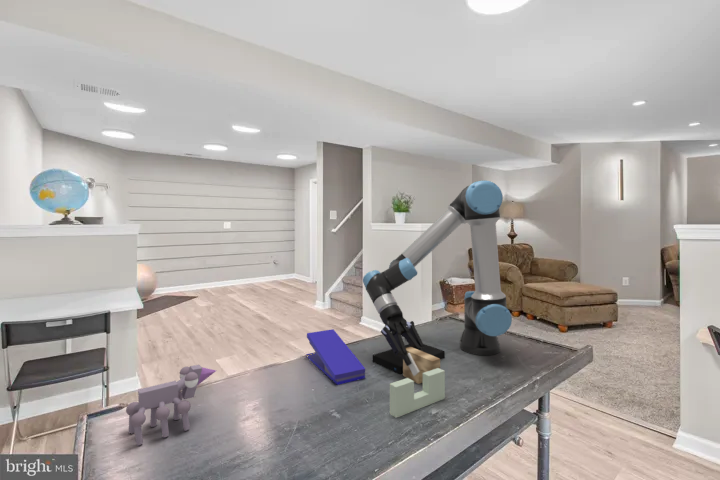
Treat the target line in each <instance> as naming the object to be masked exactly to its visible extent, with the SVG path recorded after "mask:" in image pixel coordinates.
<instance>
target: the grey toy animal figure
mask: <svg viewBox="0 0 720 480" xmlns="http://www.w3.org/2000/svg"><path fill="white" fill-rule="evenodd" d="M216 372H217V370H216V369H211V368H207V367H202V366H201V364H195V365H190V366H184V367H181V369H180V370H179V379H178V380H177V381H176V380H172V381H168V382H164V383H160V384H155V385H152V386H148V387H143V388H139V389H138V390H137V395H138V396H137V397H138V402H137V401H132V402H130V403H129V404H128V405H127V406H126V409H125V412H126V414H127V416H128V434H129V433H131V434H134V438H135V445H136V446H140V445H142V444H143V443H144V437H143V430H142V426H143V425H144V423H145V422H146V418H147V416H146V414H145V412H146V410H149V409H150V420H149V421H150V425H149V426H150V428H151V427H152V428H153V427H154V428H155V427H156V426H157V421H160V427H161V433H162V434H161V435H162V438H167V437H169V435H170V432H169V431H170V430H169V423H168V417H169V416H170V412H171V411H170V408H169V407H168V406H166V405H168V404H173V420H175V421H177V420H180V419H181V417H180V416H182V426H183V431H184V432H185V431H189V430H190V429H191V425H190V424H191V423H190V417H189V411H190V409H191V407H192V406H191V403H190V401H189V400H187V399H192V398H194V397H195V394H196V391H197V387H198V386H199V385H200V384H202V383H203V382H204V381H206V380H207V379H208V378H210V376H212V375H213V374H215V373H216ZM180 414H181V415H180ZM134 432H135V433H134ZM131 434H130V435H131Z"/></svg>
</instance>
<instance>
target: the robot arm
mask: <svg viewBox="0 0 720 480" xmlns="http://www.w3.org/2000/svg"><path fill="white" fill-rule="evenodd" d="M503 198H504V197H503V192H502V189H501V188H500V186H499V185H497V184H496V183H495V182H493V181H491V180H479V181H478V180H477V181H474V182H473V183H471V184H469V185H467V186H466V187H465V188H463V189H462V190H461V191H460V192H459V194H458V195H457V196H456V197H455V199H454V200H452V202H451V203H450V204H449V205H448V206H447V210H446V211H445V212H444V213H443V214H442V215H441V216H440V217H439V218H438V219H436V221H434V222H433V223H432V224H431V225H430V226H429V227H428V228H427V229H426V230H425V231H424V232H423V233H421V235H420V236H419V237H417V238H416V240H414V241H413V242H412V243H411V244H409V246H408V247H407V248H406V249H405V250H404V251H403V252H401V254H399V255H398V257H396V258H395V259H393V260H392V261H391V262H390V263H389V267H388V268H387V269H386V270H384V271H382V272H380V271H379V270H377V269H375V270H371V271H368V272H367V273H365V275H364V276H363V277H362V283H363V285H364V288H365V291H366V292H367V295H368V297H370V300H371V302H372V304H373V306H374V307H375V309H376V311H377V313H378V314H379V317H380V319H381V322H382V324H384V326H383V328H382V329H381V330H380V334H382V335H383V336H384V337H385V339H386V341H387V343H388V345H389V347H390V348H391V349H392V350H393V352H394V354H395V355H396V356H399V357H400V358H403V359H404V361H405V363H406V365H407V366H409V368H410V370H411V372H412V374H413V376H416V375H417V374H418V373H419V372H420V371H419V369H418V367H417V366H416V364H415V362H414V360H413V358H412V356H411V354H410V353H408V354H407V350H406V348H405V345H406V344H405V343H404V339H405V341H406V342H407V344H409V345H410V346H411V347H413V348H415V349H418V350H420V351H421V349H422V348H423V347H424V344H425V343H424V342H423V341H422V339H421V337H420V335H419V332H418V330H417V329H416V326H415V321H414V320H411V321H407V319H405V318H404V313H403V311H402V310H401V307H400V306H399V305H398V302H397V301H396V299H395V297H394V296H393V293H392V291H394V290H395V289H396V288H398V287H400V286H402V285H403V284H405V283H407V282H408V281H411V280H412V279H413V278H415V277H416V276H417V275H418V270H417V269H416V266H418V265H419V264H420V263H421V262H422V261H423V260H424V259H425V258H426V257H428V256H429V254H431V253H432V252H433V251H434V250H435V249H436V248H437V247H438V246H439V245H440V244H442V243H443V242H444V241H445V240H447V238H448V237H449V236H450V235H451V234H452V233H453V232H454V231H455V230H456V229H457V228H458V227H459V226H461V225H463V224H468V225H469V228H470V238H471V253H472V263H473V265H472V266H473V277H474V278H473V280H474V289H475V290H467V291H466V292H465V294H464V298H463V300H464V314H463V316H464V317H463V318H464V328H463V332H462V334H461V337H460V340H459V349H460V350H462V351H463V352H466V353H469V354H472V355H477V356H479V355H480V356H494V355H497V354H499V353H500V352H501V344H500V343H499V342H500V341H499V339H498V337H499V336H502V335H504V334H505V333H506V332H507V331H508V330H509V329H510V328H511V325H512V321H513V319H512V314H511V312H510V309H508V306H507V295H506V294H505V293H504V292H503V291H502V289H501V287H502V286H501V276H500V263H499V251H498V250H499V249H498V236H497V225H496V224H497V222H498V221H499V220H500V219H501V216H500V215H501V213H500V207H501V205H502V203H503ZM403 338H404V339H403Z"/></svg>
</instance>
